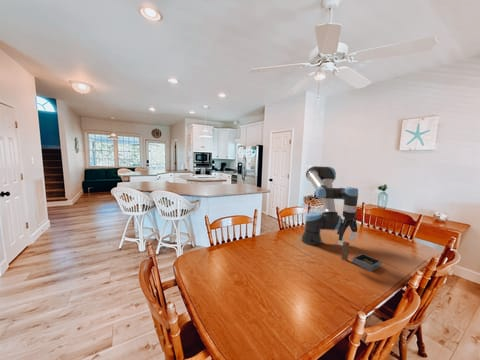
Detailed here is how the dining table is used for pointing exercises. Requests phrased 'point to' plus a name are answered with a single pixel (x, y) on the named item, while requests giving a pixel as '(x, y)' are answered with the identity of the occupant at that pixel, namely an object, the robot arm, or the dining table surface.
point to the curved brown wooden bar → (345, 250)
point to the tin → (367, 262)
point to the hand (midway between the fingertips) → (346, 242)
